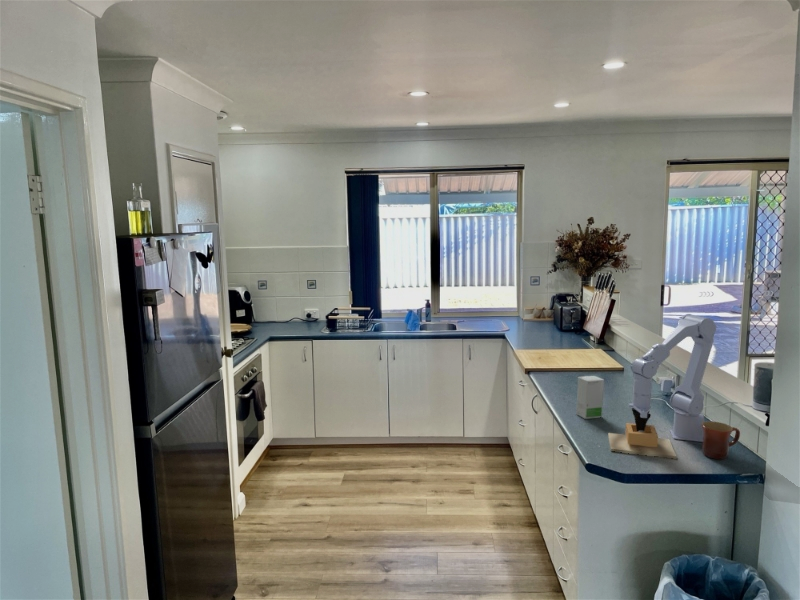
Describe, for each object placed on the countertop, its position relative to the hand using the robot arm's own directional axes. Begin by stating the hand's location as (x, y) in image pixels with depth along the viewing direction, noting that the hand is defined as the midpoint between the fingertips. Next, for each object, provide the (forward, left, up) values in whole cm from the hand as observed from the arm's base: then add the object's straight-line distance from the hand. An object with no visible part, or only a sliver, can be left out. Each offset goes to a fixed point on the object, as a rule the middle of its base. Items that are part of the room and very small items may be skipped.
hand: (639, 430), depth 184 cm
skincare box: (+16, -22, -5) cm, 28 cm away
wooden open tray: (0, +4, -2) cm, 4 cm away
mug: (-24, +4, -5) cm, 25 cm away
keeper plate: (0, +4, -4) cm, 6 cm away
